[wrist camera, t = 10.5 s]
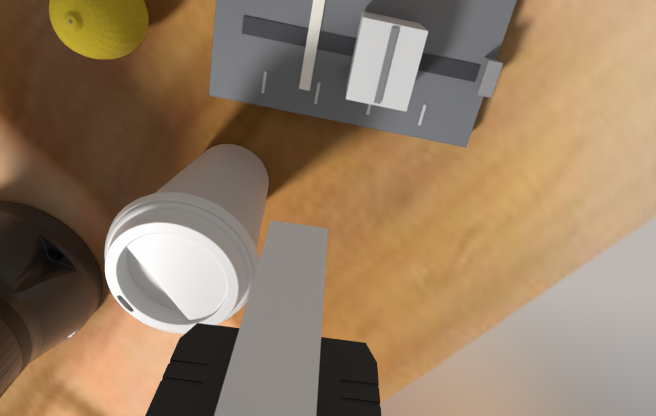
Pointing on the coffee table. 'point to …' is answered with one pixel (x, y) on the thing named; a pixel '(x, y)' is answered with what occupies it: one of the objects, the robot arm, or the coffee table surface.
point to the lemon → (100, 26)
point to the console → (336, 56)
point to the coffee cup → (190, 243)
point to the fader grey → (385, 61)
